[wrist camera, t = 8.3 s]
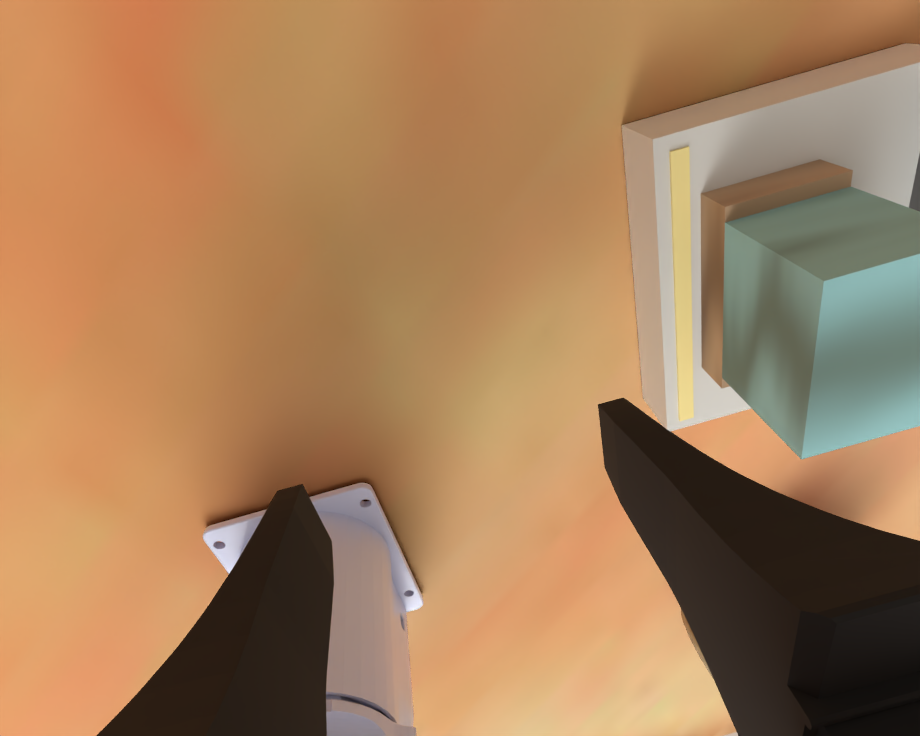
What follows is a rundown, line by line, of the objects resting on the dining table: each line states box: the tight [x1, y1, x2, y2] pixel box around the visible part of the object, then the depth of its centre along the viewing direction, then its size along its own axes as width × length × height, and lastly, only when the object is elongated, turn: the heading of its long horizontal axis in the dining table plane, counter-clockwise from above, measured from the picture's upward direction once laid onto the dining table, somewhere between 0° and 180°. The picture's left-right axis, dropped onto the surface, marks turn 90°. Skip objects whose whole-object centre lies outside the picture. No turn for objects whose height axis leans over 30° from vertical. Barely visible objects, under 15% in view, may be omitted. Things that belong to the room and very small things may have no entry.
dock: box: [622, 43, 920, 431], centre depth 21 cm, size 12×10×4 cm
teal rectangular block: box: [701, 159, 920, 459], centre depth 18 cm, size 7×4×6 cm, turn 14°
